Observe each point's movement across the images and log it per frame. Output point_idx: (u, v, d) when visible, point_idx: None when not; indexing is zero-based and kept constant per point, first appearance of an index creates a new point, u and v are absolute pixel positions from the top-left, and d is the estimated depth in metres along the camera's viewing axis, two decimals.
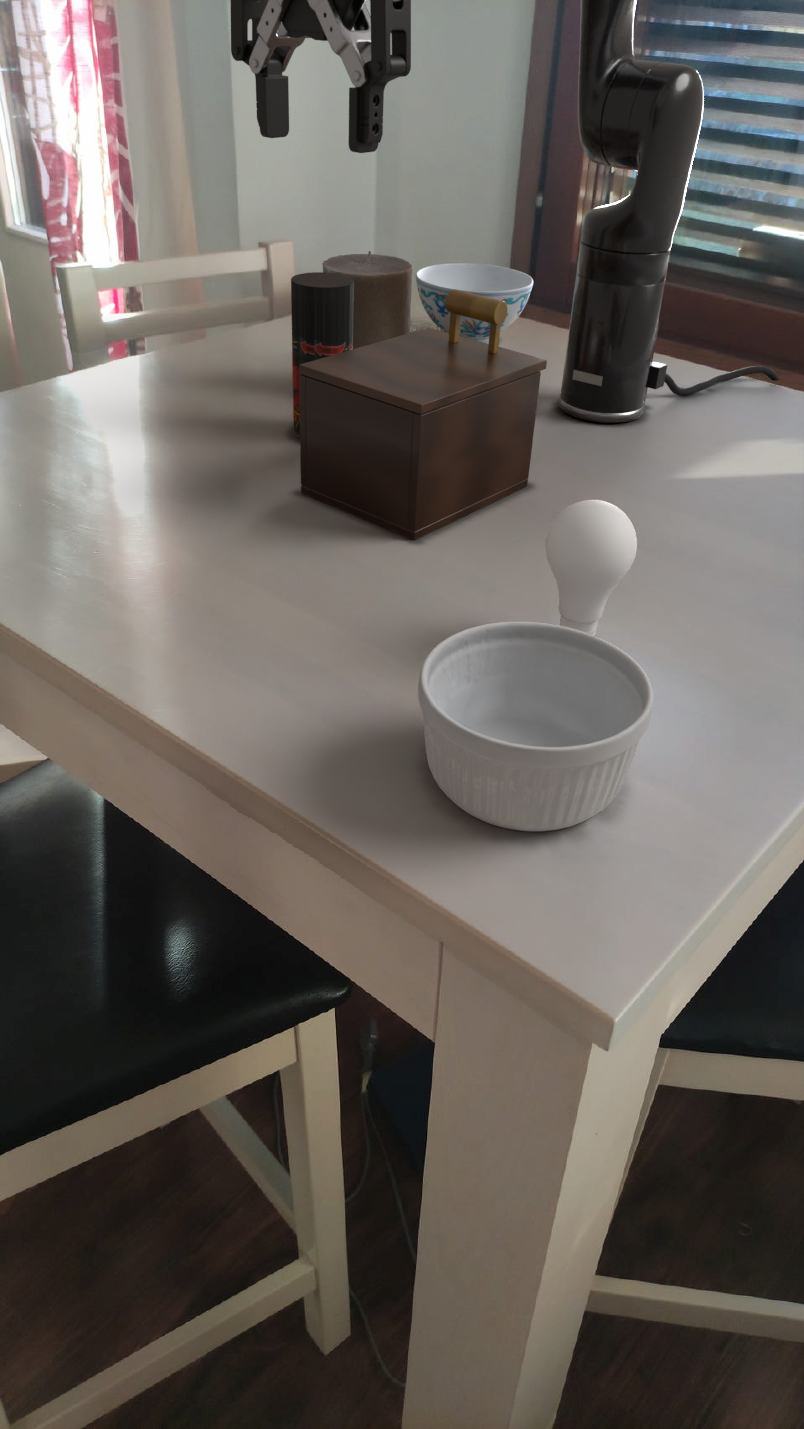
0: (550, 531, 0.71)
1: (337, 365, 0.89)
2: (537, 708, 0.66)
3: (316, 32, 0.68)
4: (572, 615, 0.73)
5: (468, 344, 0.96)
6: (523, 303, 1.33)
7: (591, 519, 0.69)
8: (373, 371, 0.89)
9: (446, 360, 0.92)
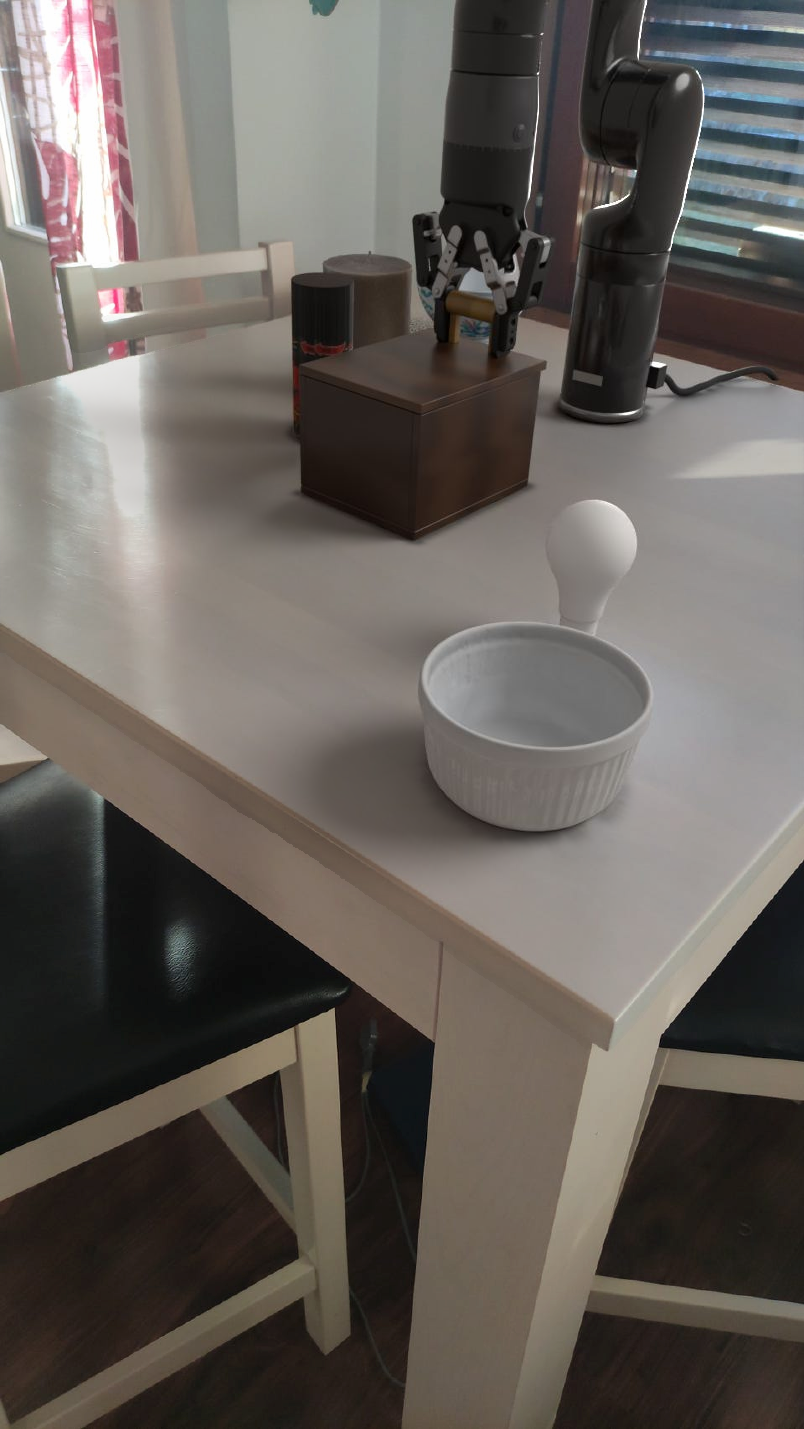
0: (550, 531, 0.71)
1: (337, 365, 0.89)
2: (537, 708, 0.66)
3: (480, 267, 0.90)
4: (572, 615, 0.73)
5: (468, 345, 0.96)
6: None
7: (591, 519, 0.69)
8: (373, 371, 0.89)
9: (446, 360, 0.92)
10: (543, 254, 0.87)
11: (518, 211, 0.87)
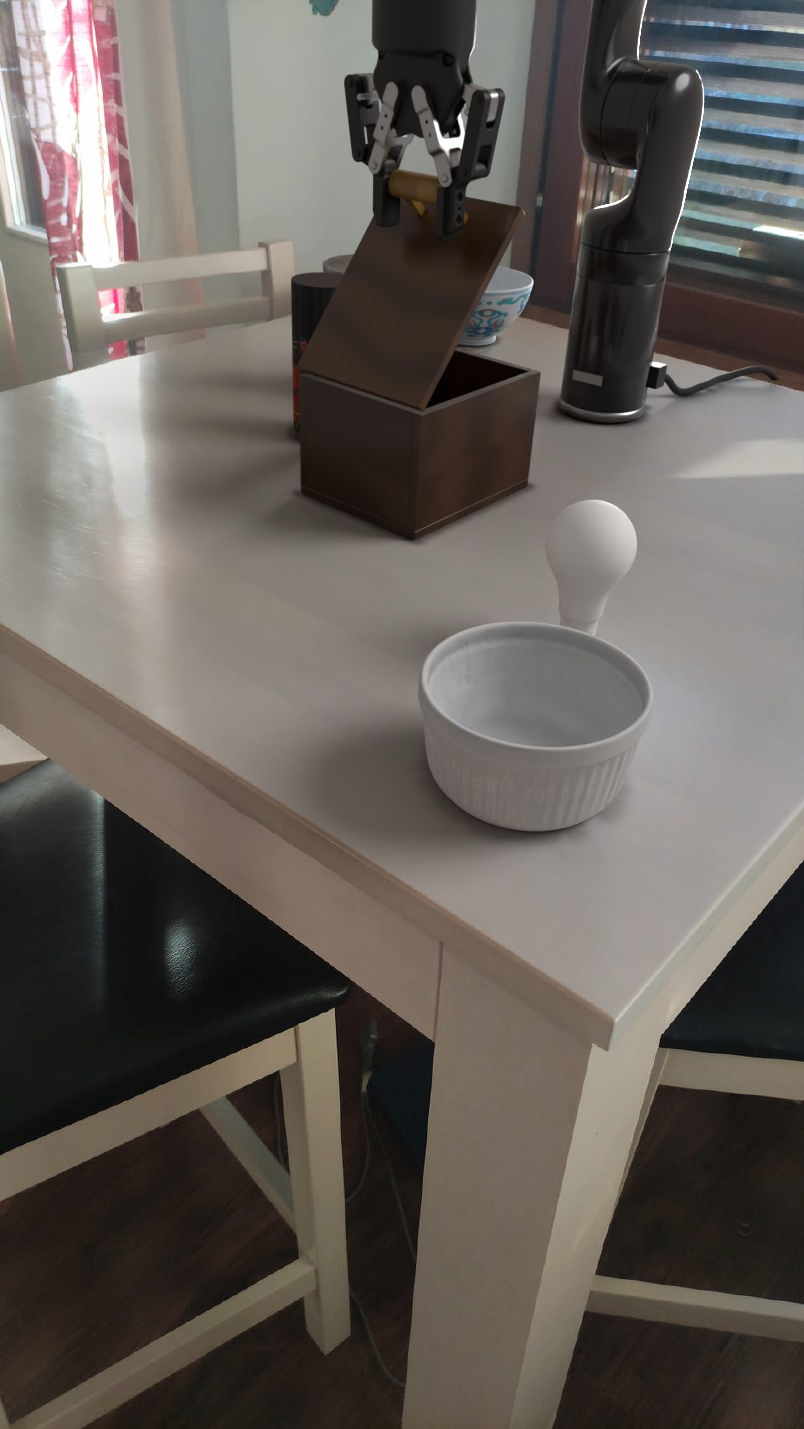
0: (550, 531, 0.71)
1: (328, 348, 0.88)
2: (537, 708, 0.66)
3: (421, 131, 0.78)
4: (572, 615, 0.73)
5: None
6: (523, 303, 1.33)
7: (591, 519, 0.69)
8: (362, 345, 0.86)
9: (422, 271, 0.85)
10: (490, 110, 0.75)
11: (461, 61, 0.75)
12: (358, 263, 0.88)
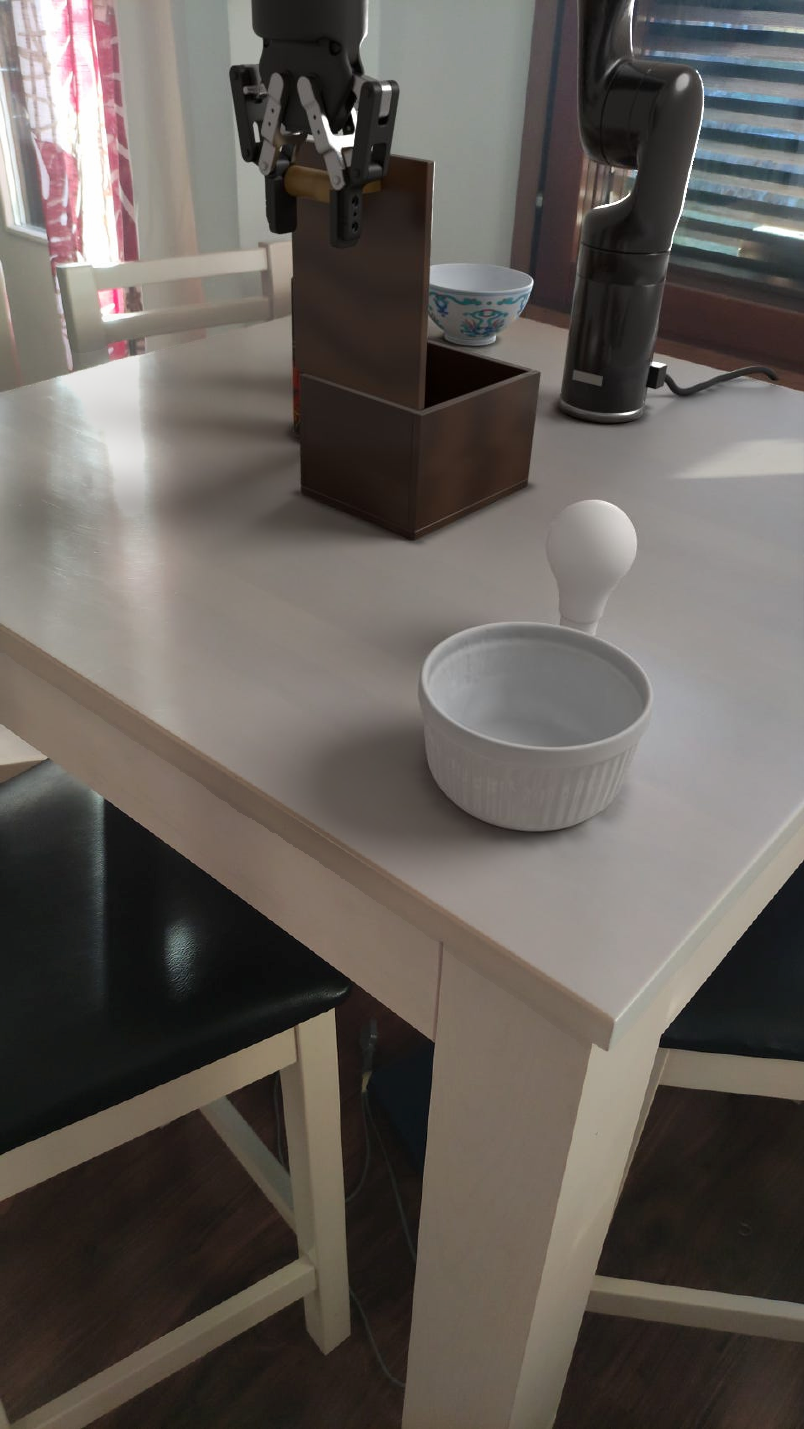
0: (550, 531, 0.71)
1: (314, 349, 0.87)
2: (537, 708, 0.66)
3: (310, 128, 0.71)
4: (572, 615, 0.73)
5: None
6: (523, 303, 1.33)
7: (591, 519, 0.69)
8: (342, 343, 0.84)
9: (362, 253, 0.79)
10: (382, 104, 0.67)
11: (350, 49, 0.67)
12: (300, 246, 0.83)
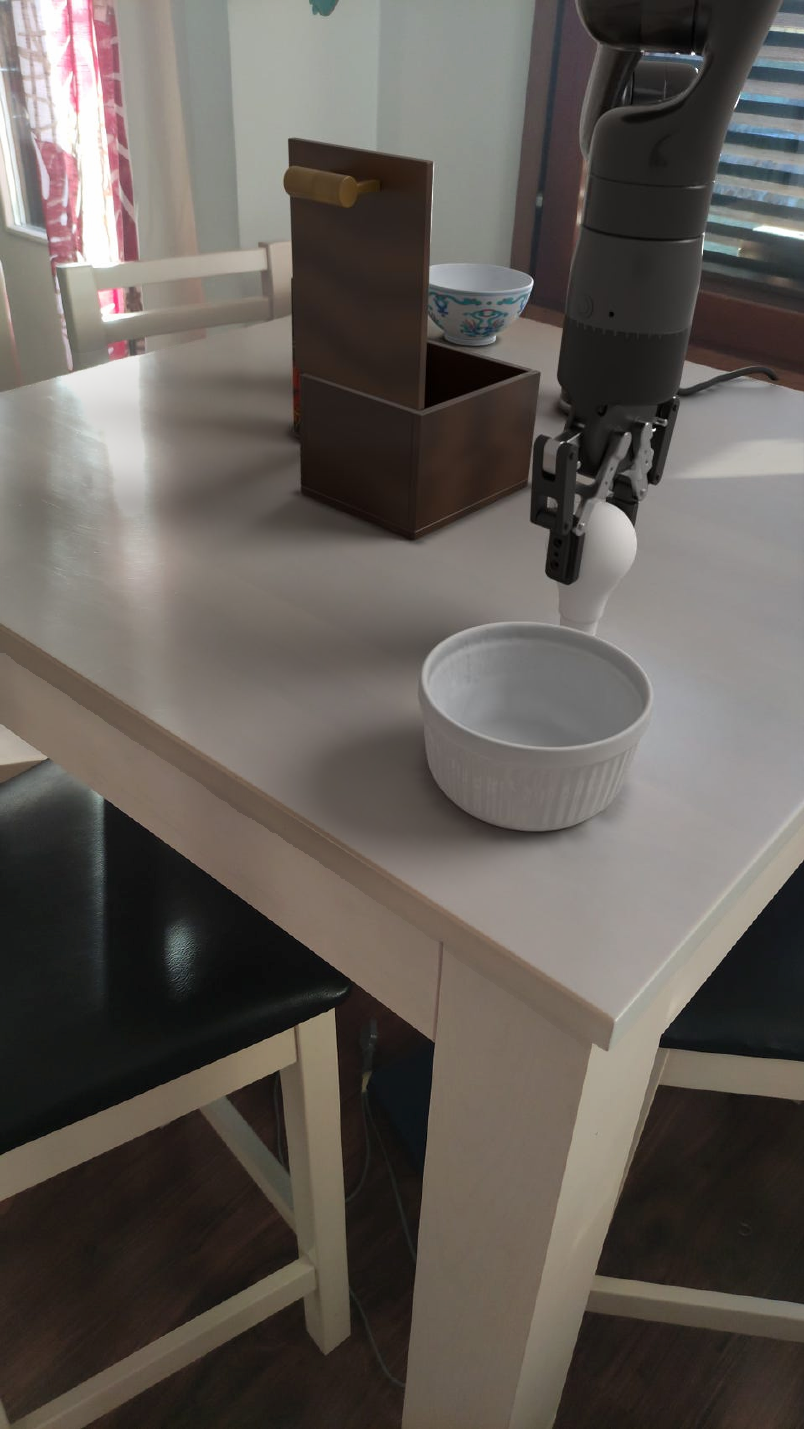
0: None
1: (314, 349, 0.87)
2: (537, 708, 0.66)
3: None
4: (572, 615, 0.73)
5: (346, 173, 0.77)
6: (523, 303, 1.33)
7: (590, 520, 0.69)
8: (341, 343, 0.84)
9: (362, 253, 0.79)
10: (545, 460, 0.63)
11: (579, 406, 0.63)
12: (299, 247, 0.83)
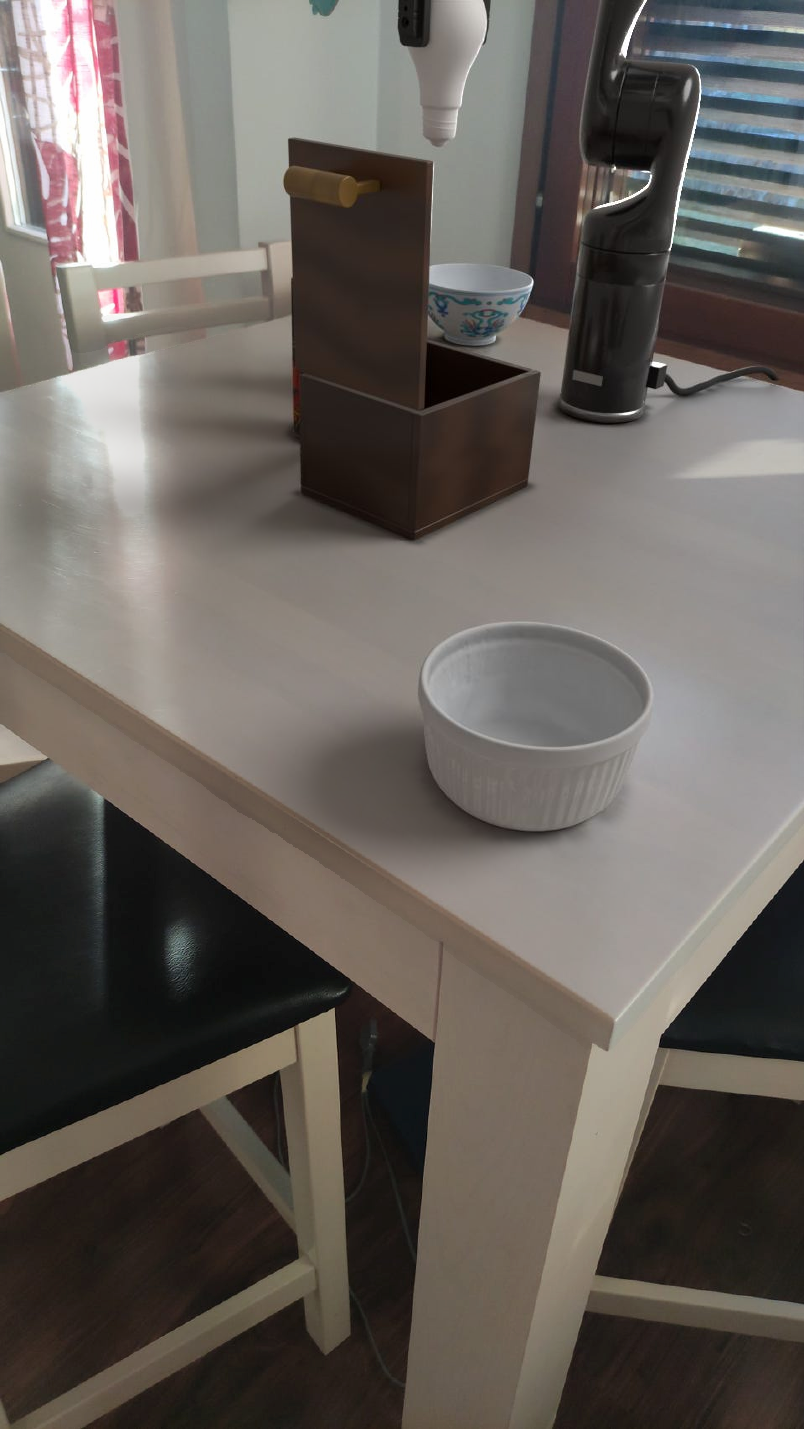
0: None
1: (314, 349, 0.87)
2: (537, 708, 0.66)
3: None
4: (430, 100, 0.78)
5: (346, 173, 0.77)
6: (523, 303, 1.33)
7: None
8: (341, 343, 0.84)
9: (362, 253, 0.79)
10: None
11: None
12: (299, 247, 0.83)
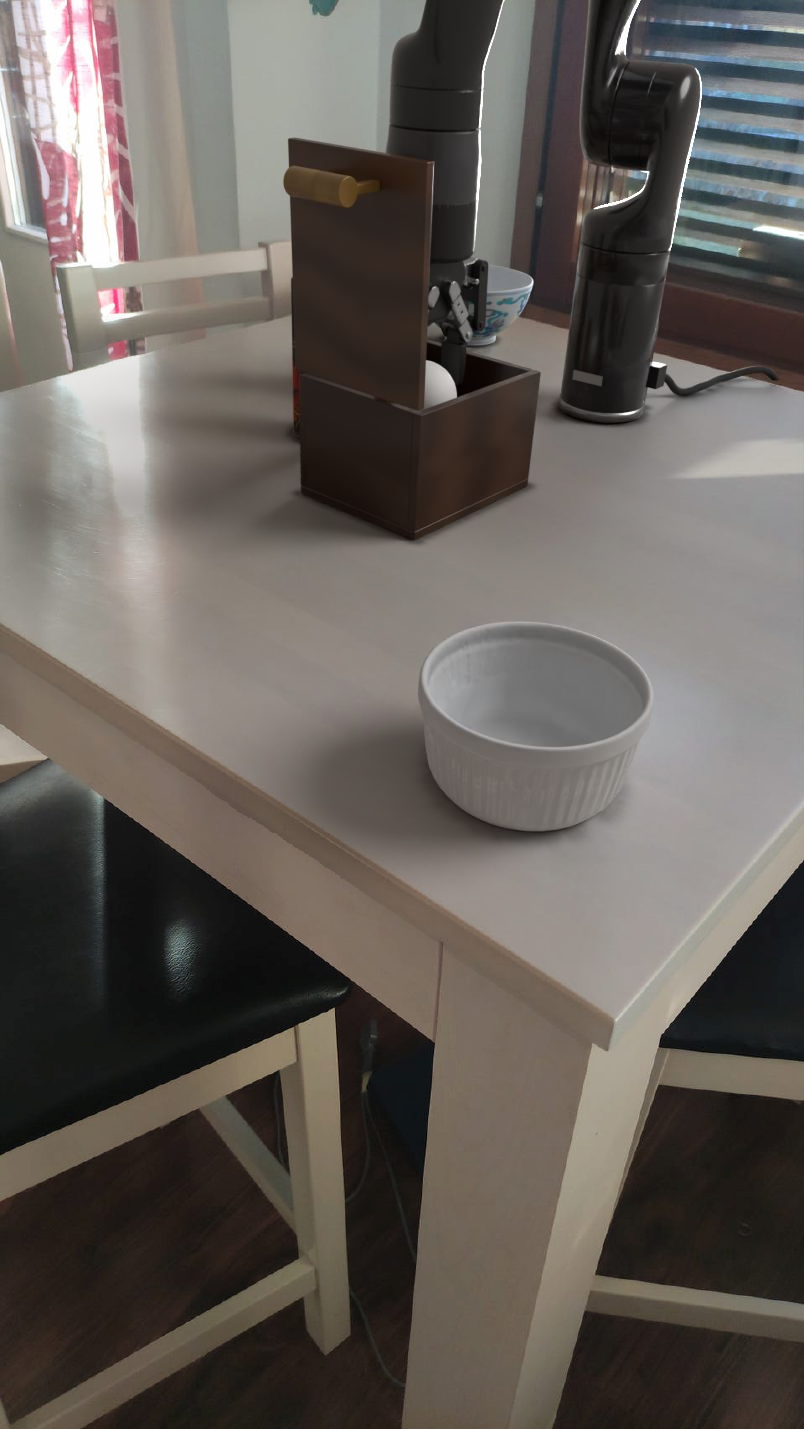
0: None
1: (314, 349, 0.87)
2: (537, 708, 0.66)
3: None
4: None
5: (346, 173, 0.77)
6: (523, 303, 1.33)
7: None
8: (341, 343, 0.84)
9: (362, 253, 0.79)
10: None
11: None
12: (299, 247, 0.83)
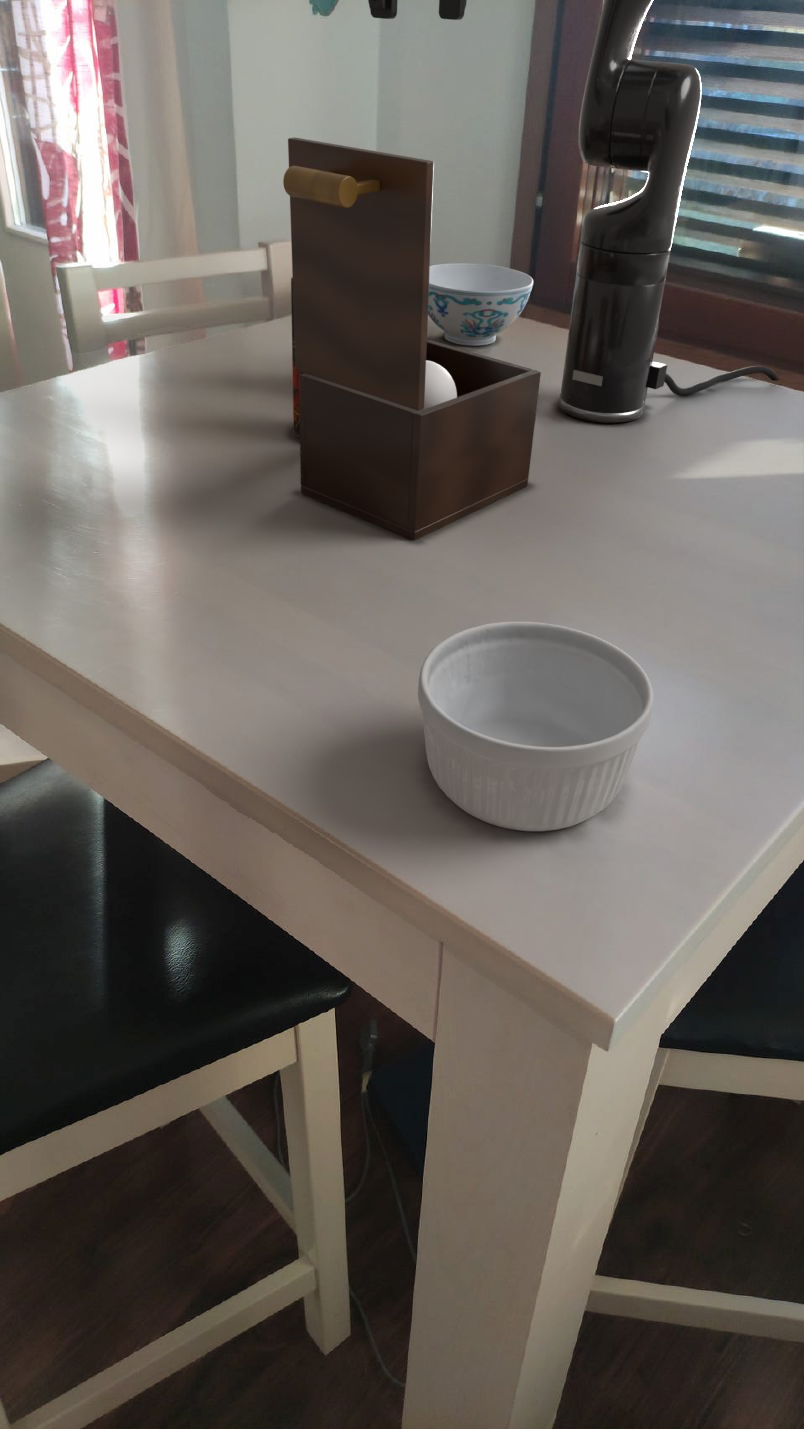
0: None
1: (314, 349, 0.87)
2: (537, 708, 0.66)
3: None
4: None
5: (346, 173, 0.77)
6: (523, 303, 1.33)
7: None
8: (341, 343, 0.84)
9: (362, 253, 0.79)
10: None
11: None
12: (299, 247, 0.83)
